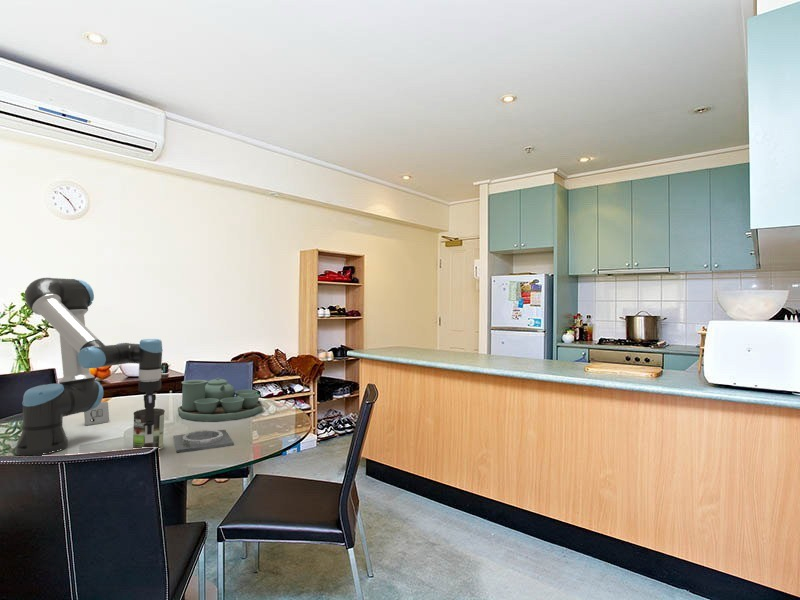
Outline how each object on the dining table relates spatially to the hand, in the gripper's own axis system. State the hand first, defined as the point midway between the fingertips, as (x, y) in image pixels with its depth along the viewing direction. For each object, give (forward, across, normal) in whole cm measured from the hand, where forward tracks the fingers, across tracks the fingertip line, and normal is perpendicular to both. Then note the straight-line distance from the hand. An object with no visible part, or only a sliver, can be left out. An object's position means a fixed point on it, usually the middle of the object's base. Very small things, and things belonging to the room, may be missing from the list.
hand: (148, 438), depth 168 cm
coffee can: (+4, 0, 0) cm, 4 cm away
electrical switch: (+4, +50, +20) cm, 54 cm away
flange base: (+4, 0, -19) cm, 19 cm away
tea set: (+4, +48, -34) cm, 59 cm away
